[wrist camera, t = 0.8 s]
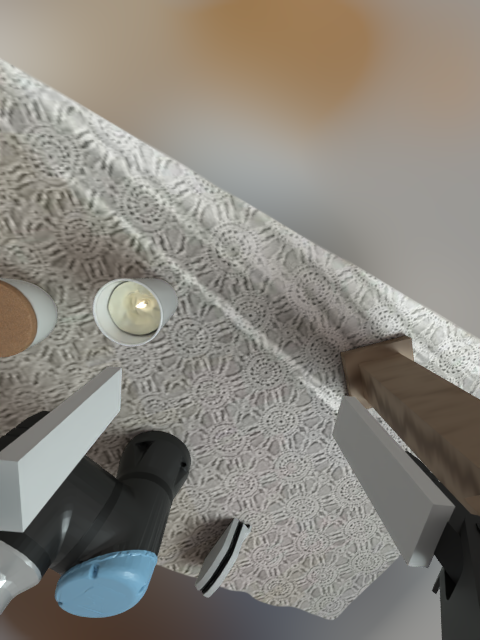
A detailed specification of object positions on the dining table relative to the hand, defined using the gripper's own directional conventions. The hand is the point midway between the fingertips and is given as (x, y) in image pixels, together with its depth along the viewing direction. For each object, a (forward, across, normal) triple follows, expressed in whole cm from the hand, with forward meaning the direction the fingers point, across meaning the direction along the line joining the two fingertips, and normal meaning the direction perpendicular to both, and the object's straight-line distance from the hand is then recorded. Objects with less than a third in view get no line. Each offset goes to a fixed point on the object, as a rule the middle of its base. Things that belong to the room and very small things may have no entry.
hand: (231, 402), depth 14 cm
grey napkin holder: (+34, -6, +60) cm, 69 cm away
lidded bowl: (+33, +37, +6) cm, 50 cm away
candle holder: (+32, +15, +1) cm, 36 cm away
